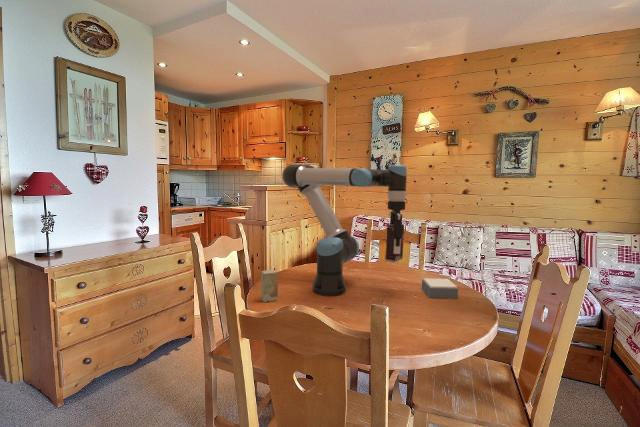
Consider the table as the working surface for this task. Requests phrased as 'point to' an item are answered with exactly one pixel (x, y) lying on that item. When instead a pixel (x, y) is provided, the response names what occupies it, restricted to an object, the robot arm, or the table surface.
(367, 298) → the table surface
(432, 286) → the platform
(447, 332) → the table surface
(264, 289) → the skincare box
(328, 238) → the robot arm
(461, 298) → the table surface
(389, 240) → the supplement box
